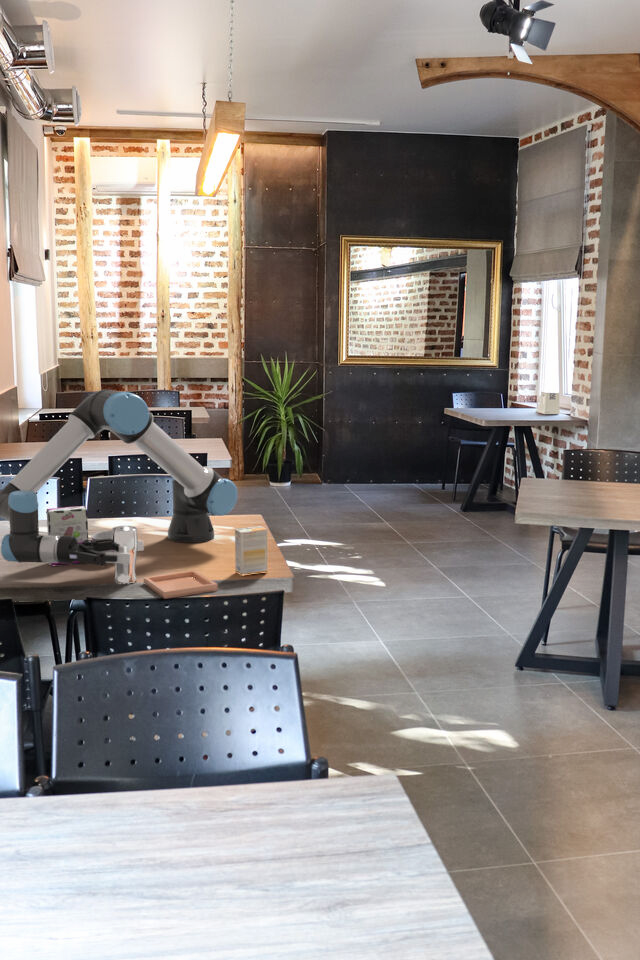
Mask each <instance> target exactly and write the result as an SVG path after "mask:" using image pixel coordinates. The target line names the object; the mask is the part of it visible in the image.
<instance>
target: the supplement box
mask: <svg viewBox="0 0 640 960" xmlns="http://www.w3.org/2000/svg"><path fill="white" fill-rule="evenodd" d="M234 543H235V544H234V548H235V549H234V550H235V551H234V552H235V553H234V556H235V557H234V558H235V560H234V561H235V563H234V564H235V573H236V572H238V573H240V574H241V575H242V574H251V573H261V572H267V573H268V528H265V527H263V526H261V525H259V526H249V527H241V528H235V529H234Z"/></svg>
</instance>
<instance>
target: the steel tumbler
mask: <svg viewBox="0 0 640 960" xmlns="http://www.w3.org/2000/svg"><path fill="white" fill-rule="evenodd" d="M111 530H112V552H113V553H130V556H131V563H130V564H125V563H114V566H115V567H114V568H115V571H114V572H115V573H114V579H113V582H114V581H115V582H117V583H121V584H123V583H130V582H133V581H135V580H136V579H137V574H136V562H137V555H138V551H137V549H138V541H139V539H138V529H137V526H135V525H117V526H114V527H112V528H111ZM137 580H138V579H137ZM115 582H114V583H115ZM121 584H120V585H121Z"/></svg>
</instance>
